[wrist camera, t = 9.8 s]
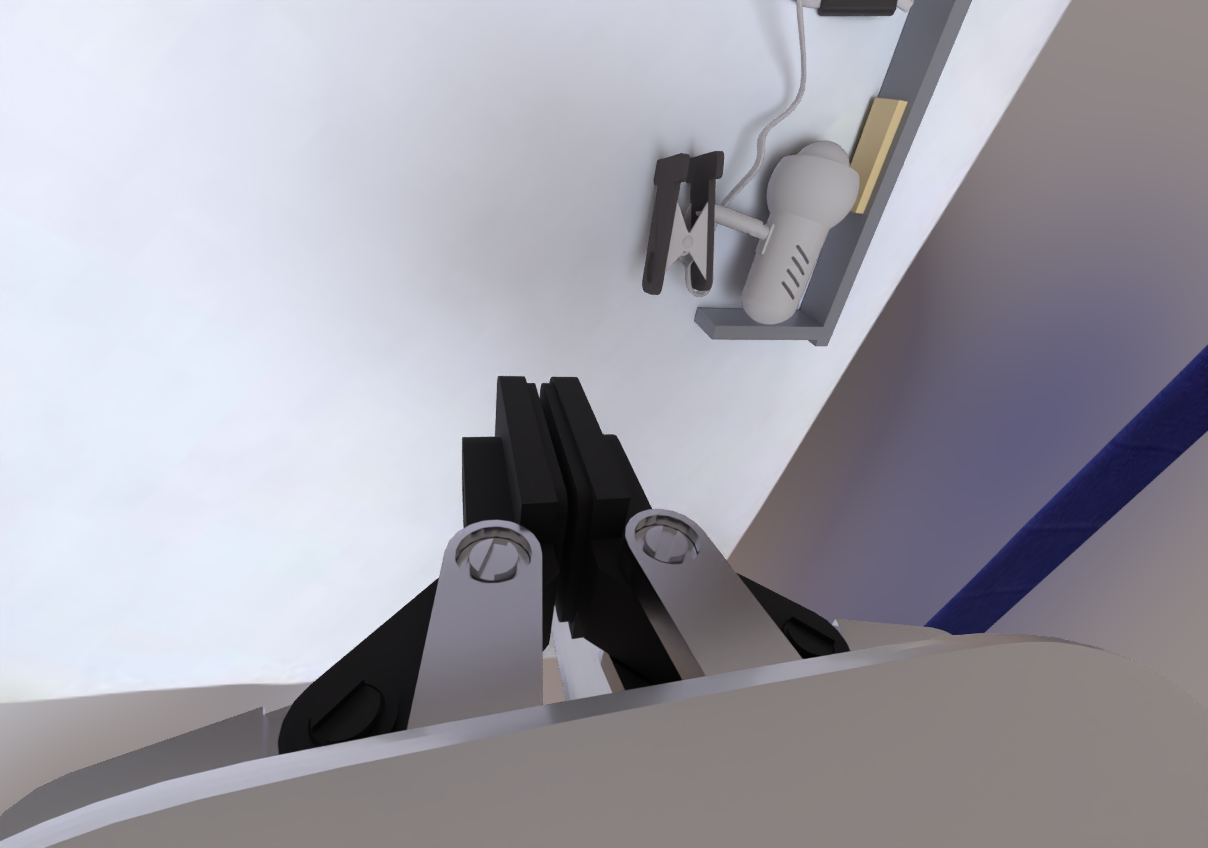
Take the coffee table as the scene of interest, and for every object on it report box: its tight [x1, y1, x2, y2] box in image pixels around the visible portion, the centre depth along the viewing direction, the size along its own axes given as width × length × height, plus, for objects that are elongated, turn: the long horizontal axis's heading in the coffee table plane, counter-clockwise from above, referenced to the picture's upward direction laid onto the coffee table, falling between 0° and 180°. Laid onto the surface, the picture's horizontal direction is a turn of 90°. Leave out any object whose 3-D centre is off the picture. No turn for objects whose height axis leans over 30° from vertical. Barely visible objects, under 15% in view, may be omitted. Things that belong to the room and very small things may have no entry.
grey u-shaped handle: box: [694, 0, 972, 346], centre depth 30 cm, size 24×10×3 cm, turn 172°
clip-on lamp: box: [642, 0, 914, 325], centre depth 28 cm, size 12×6×18 cm
